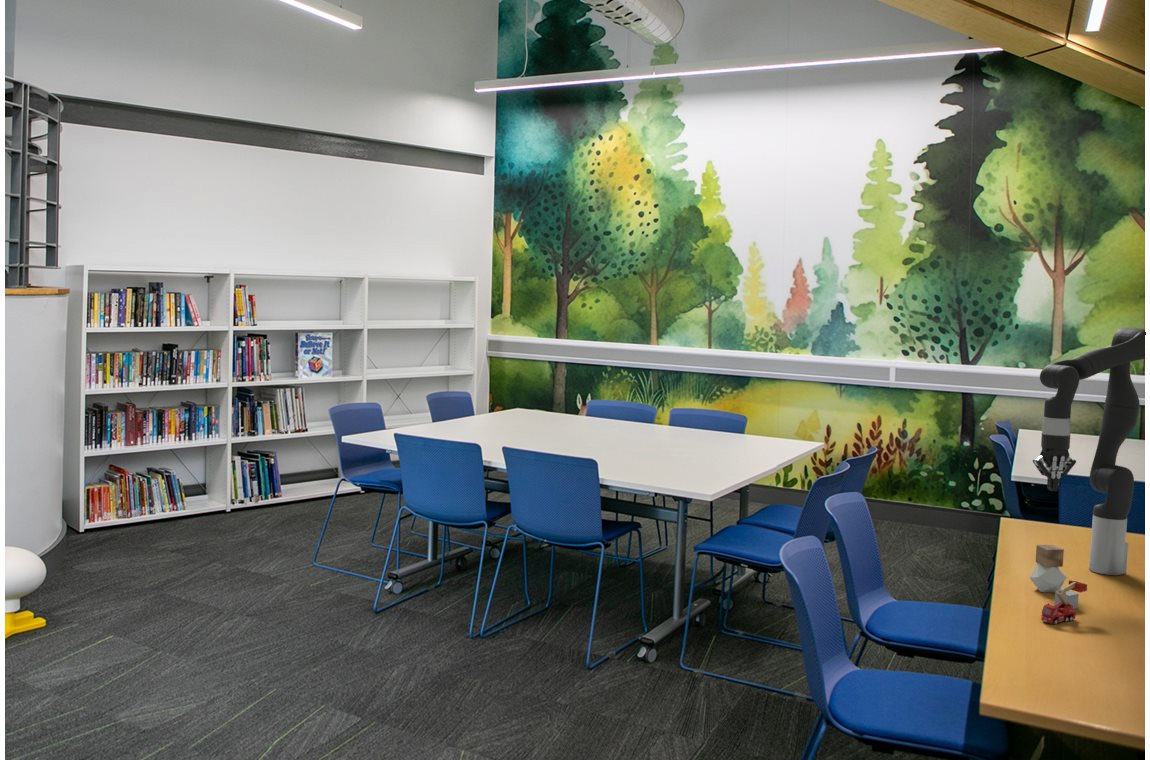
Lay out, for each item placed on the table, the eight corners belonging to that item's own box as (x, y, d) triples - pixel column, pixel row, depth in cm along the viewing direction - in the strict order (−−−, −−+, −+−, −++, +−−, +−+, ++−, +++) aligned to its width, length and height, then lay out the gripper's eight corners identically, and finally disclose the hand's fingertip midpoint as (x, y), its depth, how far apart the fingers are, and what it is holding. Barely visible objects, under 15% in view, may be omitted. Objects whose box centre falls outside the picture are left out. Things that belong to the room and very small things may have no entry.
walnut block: (1051, 561, 272) (1052, 544, 271) (1062, 566, 267) (1063, 549, 266) (1035, 561, 271) (1036, 544, 271) (1046, 566, 266) (1047, 549, 266)
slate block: (1064, 603, 258) (1065, 589, 258) (1077, 608, 254) (1078, 593, 254) (1054, 605, 256) (1055, 591, 256) (1068, 610, 252) (1069, 595, 252)
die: (1061, 599, 263) (1076, 570, 266) (1034, 582, 264) (1048, 553, 267) (1047, 601, 271) (1061, 572, 273) (1020, 584, 272) (1034, 556, 275)
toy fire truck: (1039, 621, 243) (1041, 585, 242) (1073, 614, 249) (1076, 578, 248) (1051, 625, 240) (1053, 588, 239) (1085, 618, 246) (1087, 582, 245)
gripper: (1068, 430, 282) (1064, 487, 283) (1027, 430, 280) (1024, 488, 282) (1085, 434, 274) (1081, 492, 276) (1043, 434, 273) (1039, 493, 274)
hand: (1052, 490), depth 279 cm, fingers closed
